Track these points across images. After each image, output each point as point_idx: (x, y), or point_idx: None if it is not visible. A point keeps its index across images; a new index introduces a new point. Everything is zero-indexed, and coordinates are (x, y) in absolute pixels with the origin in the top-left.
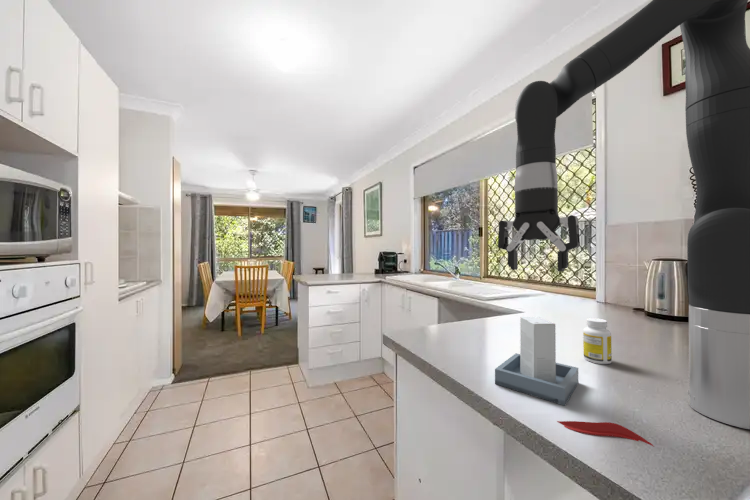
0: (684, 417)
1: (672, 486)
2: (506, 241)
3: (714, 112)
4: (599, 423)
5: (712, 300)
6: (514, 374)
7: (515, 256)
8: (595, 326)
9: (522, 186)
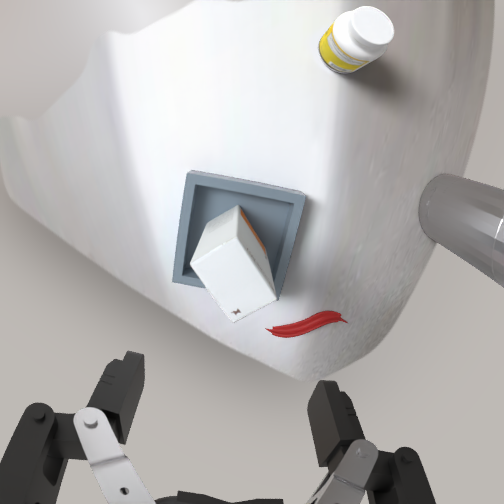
0: (401, 240)
1: (338, 366)
2: (45, 448)
3: None
4: (307, 331)
5: None
6: (205, 287)
7: (128, 415)
8: (365, 46)
9: None
